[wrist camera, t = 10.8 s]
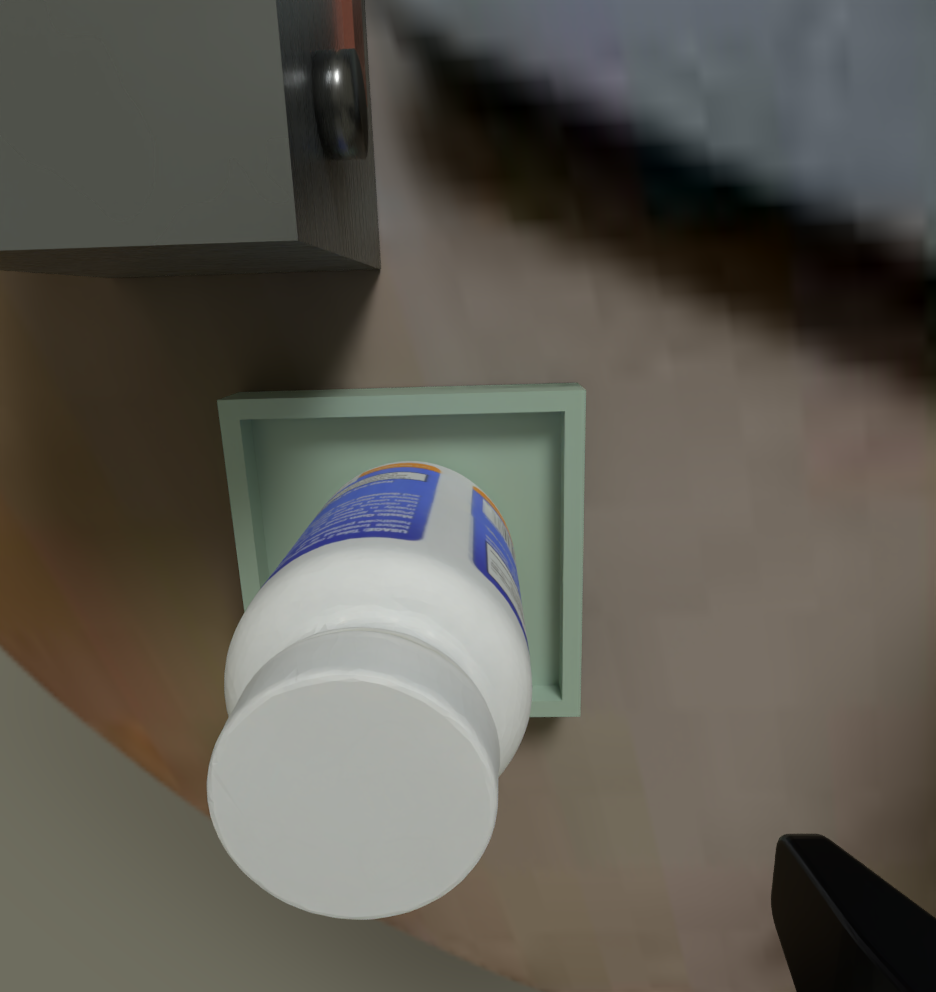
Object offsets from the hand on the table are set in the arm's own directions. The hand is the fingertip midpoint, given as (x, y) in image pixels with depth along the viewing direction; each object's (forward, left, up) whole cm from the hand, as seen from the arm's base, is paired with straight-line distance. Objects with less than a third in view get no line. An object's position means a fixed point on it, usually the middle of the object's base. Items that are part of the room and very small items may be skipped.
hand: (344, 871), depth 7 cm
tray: (+1, +1, -12) cm, 12 cm away
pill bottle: (0, +1, -12) cm, 12 cm away
